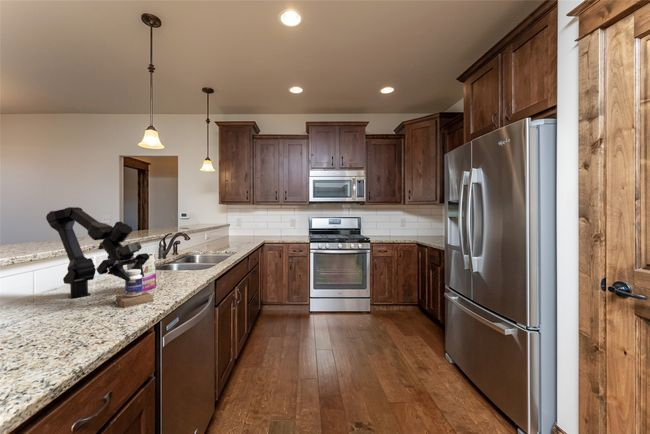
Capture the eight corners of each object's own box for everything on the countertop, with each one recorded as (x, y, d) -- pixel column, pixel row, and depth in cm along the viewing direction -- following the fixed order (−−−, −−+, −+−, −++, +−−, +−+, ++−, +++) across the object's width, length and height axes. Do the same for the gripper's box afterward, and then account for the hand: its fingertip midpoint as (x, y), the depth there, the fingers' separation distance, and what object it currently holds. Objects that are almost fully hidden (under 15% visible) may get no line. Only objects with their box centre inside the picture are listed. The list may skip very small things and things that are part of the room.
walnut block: (115, 302, 112) (115, 296, 112) (143, 296, 120) (143, 290, 120) (124, 307, 106) (123, 301, 106) (153, 301, 114) (153, 295, 114)
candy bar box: (147, 286, 135) (147, 253, 135) (156, 287, 134) (155, 253, 134) (126, 293, 124) (126, 256, 124) (136, 294, 123) (135, 257, 123)
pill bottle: (127, 297, 109) (127, 272, 108) (123, 295, 112) (123, 270, 112) (144, 294, 113) (144, 270, 113) (139, 291, 117) (139, 268, 117)
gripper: (102, 238, 104) (125, 270, 102) (146, 234, 122) (166, 261, 120) (86, 258, 107) (108, 289, 104) (132, 251, 125) (152, 278, 122)
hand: (136, 278), depth 112 cm, fingers closed on pill bottle, 6 cm apart
